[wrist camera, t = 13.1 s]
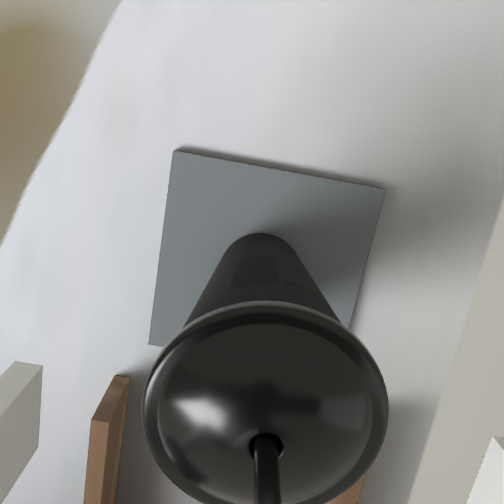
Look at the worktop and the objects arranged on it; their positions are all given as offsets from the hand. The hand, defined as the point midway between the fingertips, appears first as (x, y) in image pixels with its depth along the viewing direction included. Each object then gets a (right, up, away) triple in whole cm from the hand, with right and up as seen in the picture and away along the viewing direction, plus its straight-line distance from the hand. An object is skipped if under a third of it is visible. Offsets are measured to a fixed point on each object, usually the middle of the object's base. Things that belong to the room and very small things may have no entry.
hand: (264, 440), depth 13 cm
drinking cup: (0, +4, +14) cm, 15 cm away
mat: (0, +4, +14) cm, 15 cm away
